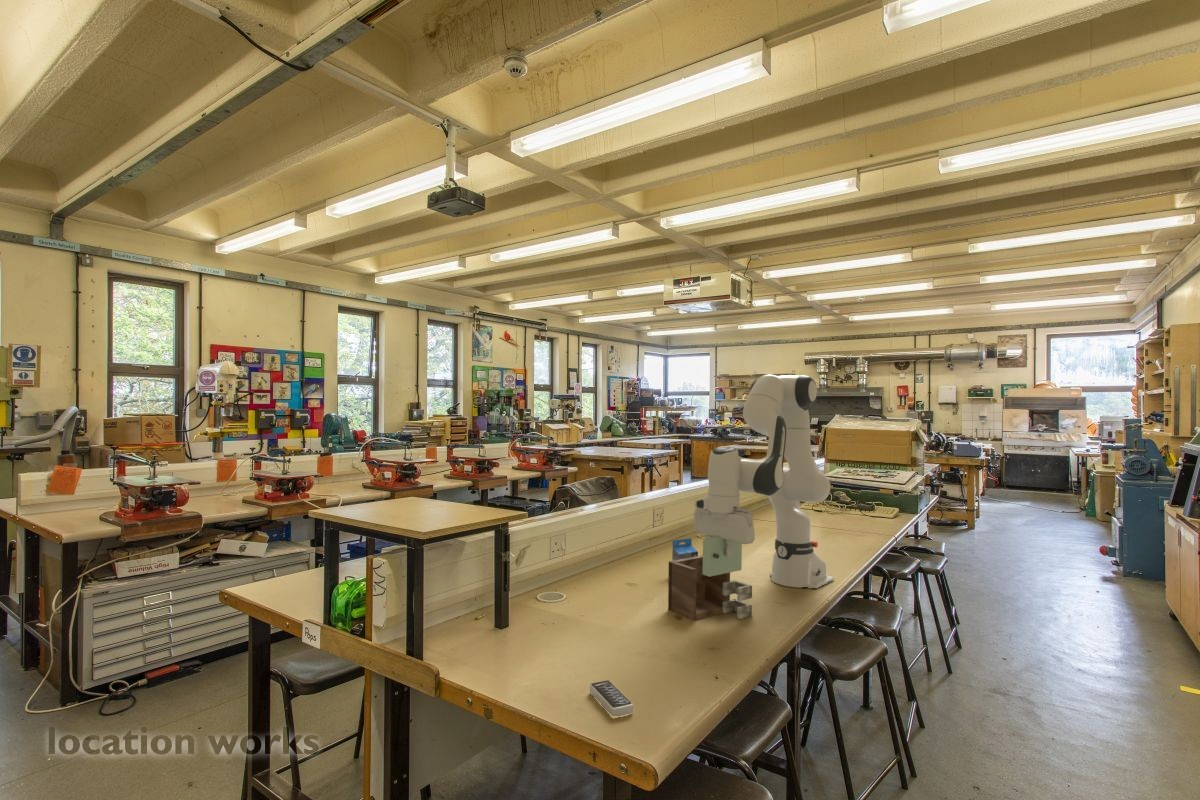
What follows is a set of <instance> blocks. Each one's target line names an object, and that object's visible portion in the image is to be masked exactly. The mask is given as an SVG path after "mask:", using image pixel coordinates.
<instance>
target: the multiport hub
mask: <svg viewBox="0 0 1200 800" xmlns="http://www.w3.org/2000/svg"><path fill="white" fill-rule="evenodd" d="M590 693H591V694H592V695H593V696H594V697H595V698H596V699H597V700H598V701H599V702H600V703H601V705H602V706H603V707H604V708H605V709H606V710H607V711H608V712H609V713H610V714H611V715H612V716H621V715H625V714H630V713H634V703H633V702H632V701H631V700H630V699H629V698H628V697H627V696H626V695H625V694H624V693H622V691H621V690H620V689H619V688H618V687H616V685H614V683H612V681H610V680H608V679H606V680H603V681H597V682H592V683H590V684H589V694H590Z"/></svg>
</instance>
